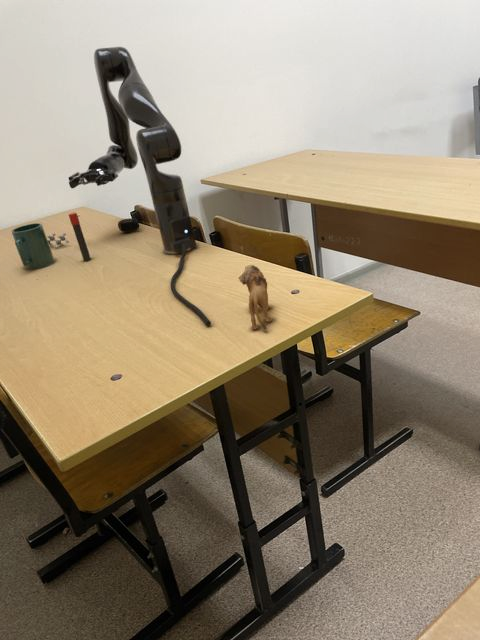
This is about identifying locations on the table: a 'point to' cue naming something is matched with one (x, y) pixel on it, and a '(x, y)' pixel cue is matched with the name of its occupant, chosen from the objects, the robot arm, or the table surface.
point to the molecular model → (57, 240)
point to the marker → (79, 236)
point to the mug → (33, 246)
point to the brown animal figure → (256, 293)
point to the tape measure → (128, 225)
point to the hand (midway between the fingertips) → (84, 183)
